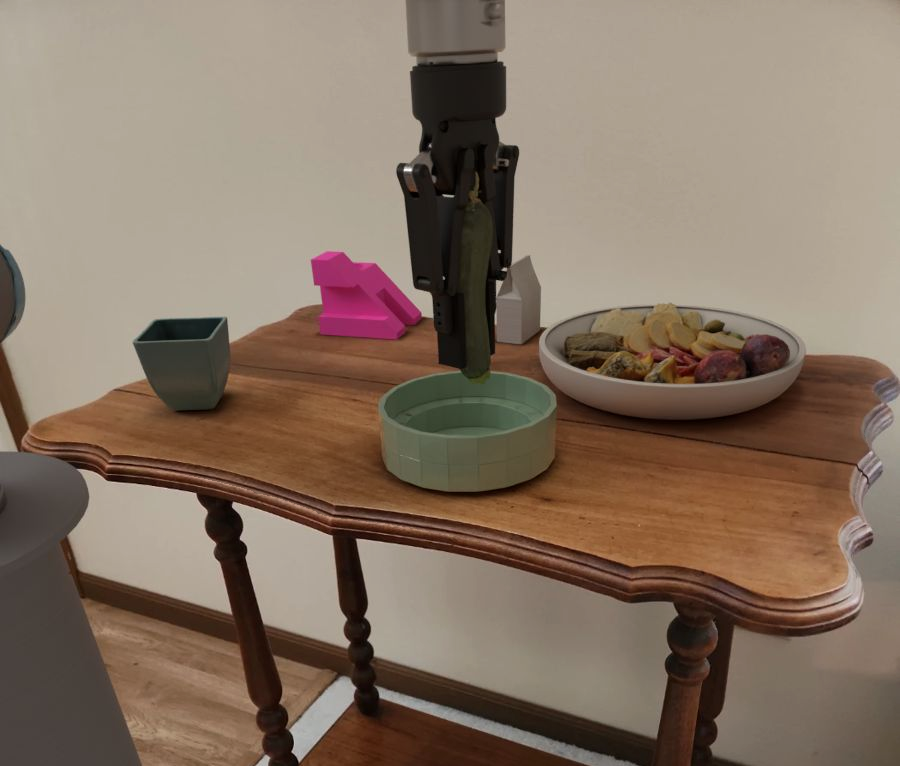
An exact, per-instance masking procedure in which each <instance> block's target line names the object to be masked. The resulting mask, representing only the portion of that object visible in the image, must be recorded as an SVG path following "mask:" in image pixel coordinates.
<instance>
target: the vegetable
mask: <svg viewBox="0 0 900 766" xmlns="http://www.w3.org/2000/svg"><path fill="white" fill-rule="evenodd" d="M478 187H479V177H478V173H477V172H475V187H474V191H470V192H469V201H468V205H467V207H466V208H465V209H464V210H463V218H462V231H461V245H460V258H459V272H458V286H457V292H458V293H463V294H464V308H465V338H466V367H465V368H463V369H459V371H461V372H462V373H463V375H464V376H465V377H467V379H468V380H469V382H471V383H472V384H474V383H481V384H483V385H484V384H485V381H486V379H489V378H490V371H491V368H490V367H491V364H492V355H491V356H490V345H489V331H488V323H487V317H486V307H485V284H486V277H487V270H488V263H489V257H490V250H491V244H492V235H493V225H492V218H491V215H490V212H489V210H488V208H487V207H486V206H485V205H484V204H483V203H482V202H481V200H480V199H479V198H477V196H478V192H477V190H478Z"/></svg>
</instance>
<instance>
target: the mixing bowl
mask: <svg viewBox="0 0 900 766" xmlns="http://www.w3.org/2000/svg"><path fill="white" fill-rule="evenodd" d="M557 411H558V403H557V394H556V393H555V392H554V391H553V390H552V389H550V388H549V386H548V385H546V384H545V383H542V382H541V381H538V380H537V379H536V380H535V379H534V378H531V377H527V376H522V375H519V374H515V373H511V372H504V371H494V370H490V378H489V379H486V381H485V384H484V385H483V384H481V383H474V384H472V383H471V382H469V380H468V379H467V377H465V376H464V375H463V373H462V372H461V371H460V370H453V371H446V372H438V373H432V374H431V373H430V374H427V375H423V376H420V377H416V378H411V379H409V380H407V381H404V382H402V383H400V384H398V385H395V386H393V387H392V388H391V389H389V390H388V391H387V392H385V393H384V394H383V395H382V396H381V397H380V400H379V402H378V406H377V416H378V426H379V436H380V447H381V448H380V449H381V458H382V460H383V463H384V465H385V468H386V470H387V471H389V472H390V473H391V474H392V475H394V476H395V477H396V478H398V479H399V480H401V481H403V482H406V483H409V484H412V485H414V486H417V487H420V488H423V489H428V490H436V491H441V492H448V493H450V492H451V493H452V492H453V493H456V492H457V493H458V492H459V493H461V492H463V493H464V492H465V493H466V492H467V493H468V492H469V493H472V492H484V491H485V492H486V491H491V490H497V489H505V488H509V487H511V486H515V485H518V484H521V483H524V482H527V481H529V480H532V479H534V478H536V477H537V476H538V475H540V474H542V473H543V472H544V471H546V470H547V469H548V468H549V467H550V465H551V464H552V462H553V460H554V459H555V458H556V440H557V439H556V438H557V437H556V435H557V415H558V414H557Z"/></svg>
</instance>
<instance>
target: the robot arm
mask: <svg viewBox="0 0 900 766" xmlns="http://www.w3.org/2000/svg"><path fill="white" fill-rule="evenodd" d="M405 15H406V16H405V17H406V18H405V19H406V35H407V36H406V37H407V39H406V40H407V54H409V55H410V56H411V57H416V63H415V64H416V65H412V68H411V70H410V71H409V76H410V77H409V80H410V97H411V110H412V111H411V112H412V116H413V118H414V119H415V120H417V121H419V123H420V125H421V136H420V140H419V141H420V142H419V144H418V153H419V154H418V155H416V157H414V158H413V159H412V160H411V161H410V162H399V163H398V164H397V166H396V169H395V170H396V171H395V174H396V178H397V180H398V183H399V186H400V188H401V189H400V190H401V191H402V194H403V201H404V208H405V209H404V211H405V217H406V228H407V237H408V247H409V256H410V267H411V276H412V277H411V278H412V284H413V288H414V289H415V290H419V291H421V292H422V291H423V292H426V293H429V294H430V295H431V299H432V301H431V302H432V318H433V327H434V331H435V332H436V334H437V335H436V337H437V339H436V340H437V357H438V358H437V359H438V365H442V366H447V367H451V368H454V369H459V370H460V369H463V368H465V367H466V338H465V308H464V294H463V293H458V292H457V286H458V272H459V258H460V245H461V231H462V218H463V210H464V209H465V208H466V207H467V205H468V201H469V192H470V191H474V187H475V172H477V173H478V177H479V187H478V190H477V192H478V196H477V198H479V199H480V200H481V202H482V203H483V204H484V205H485V206H486V207H487V208H488V210H489V212H490V215H491V218H492V225H493V235H492V244H491V250H490V257H489V263H488V270H487V277H486V284H485V307H486V317H487V323H488V331H489V345H490V356H491V357H492V356H493V355H495V354H496V314H497V306H496V297H497V281H499V282H503V281H504V280H505V279H506V277H507V270H504V269H507V268H509V267H510V266H511V264H512V263H513V243H514V240H513V239H514V213H515V212H514V207H515V205H514V204H515V176H516V172H517V166H518V161H519V157H520V148H519V146H518V145H516V144H505V143H503V142H502V141H500V134H499V130H498V127H497V121H496V119H497V118H501V117H502V116H503V115H504V114H505V113H506V111H507V66H506V65H505V63H504V61H502V60H501V61H500V60H499V55H498V53H502V52H504V50H505V49H506V47H507V45H506V0H405ZM499 251H500V252H499ZM26 297H27V296H26V287H25V280H24V277H23V274H22V271H21V269H20V267H19V264H18V263H17V261H16V259H15V257H14V256H13V254H12V252H11V251H10V250H9V249H8V248H7V249H6V248H5V247H4V246H2V244H0V345H1V344H2V343H3V342H4V341H5V340H6V339H7V338H8V337H10V336H11V335H12V334H13V333H14V331H16V329H17V328H18V326H19V324H20V323H21V320H22V318H23V316H24V312H25V307H26ZM6 502H7V498H6V495H5V492H4V490H3V487H2V484H1V482H0V514H1V513H2V511H3V510H4V508H5V506H6Z"/></svg>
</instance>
